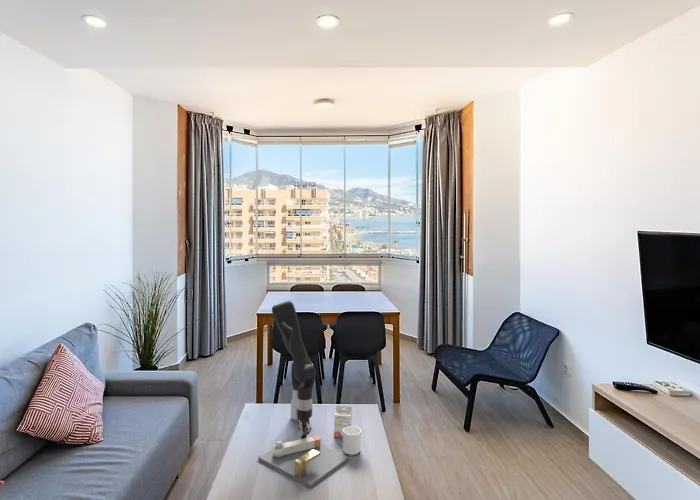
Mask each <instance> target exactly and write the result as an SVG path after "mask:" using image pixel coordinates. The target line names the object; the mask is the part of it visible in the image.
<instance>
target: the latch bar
mask: <svg viewBox="0 0 700 500" xmlns="http://www.w3.org/2000/svg"><path fill="white" fill-rule="evenodd" d="M321 441H322V439H321V438H320V436H319V435H312V436H309V437H307V438H304V439H300V440H295V441H291V442H287V441H286V442H287V443H285V442H283V441H282V440H277V441H276V442H275V444H274V445H273V446H272V449H273V456H274V457H283V456H284V455H287V454H291V453H295V452H299V451H303V450H307V449H311V448H316V447H320V446H321V445H322V444H321Z"/></svg>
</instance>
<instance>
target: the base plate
mask: <svg viewBox="0 0 700 500" xmlns="http://www.w3.org/2000/svg"><path fill="white" fill-rule="evenodd" d="M300 439H301V434H297V435H296V436H294V437H292V438H290V439H289V440H287V441H285V442H284V443H287V442H291V441H295V440H300ZM312 449H314V450H316V451H318V452H320V456H318V457H317V458H315V459H314V460H312V461H311V462H309V463H308V464H306V476H305V477H304V478H302V479H301V478H299V477H297V476H295V460H296V459H298V458H300V457H301V456H303V455H304V454H306V453H308V452H309V451H311V450H312ZM349 457H350V456H348V455H346V454H342V453H340V452H338V451H335V450H333V449H332V448H329V447H327V446H324V445H322V444H321V446H320V447H316V448H311V449H307V450H303V451H299V452H295V453H291V454H287V455H284V456H283V457H274V456H273V448H272V449H271V450H268V451H267V452H265V453H263V454H262V455H260V456H258V461H259V462H261V463H262V464H264V465H266V466H268V467H270V468H272V469H274V470H276V471H278V472H279V473H281V474H283V475H285V476H287V477H289V478H290V479H292V480H294V481H296V482H298V483H300V484H301V485H303V486H306V487H308V488H309V489H312V487H314V486H315V485H317V484H318V483H320V482H321V481H322V480H324V479H325V478H326V477H328V476H329V475H331V474H332V473H334V472H335V471H336V470H338V469H339V468H341V467H342V466H343V465H344V464H346V463H347V462H349V460H350V459H349Z"/></svg>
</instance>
